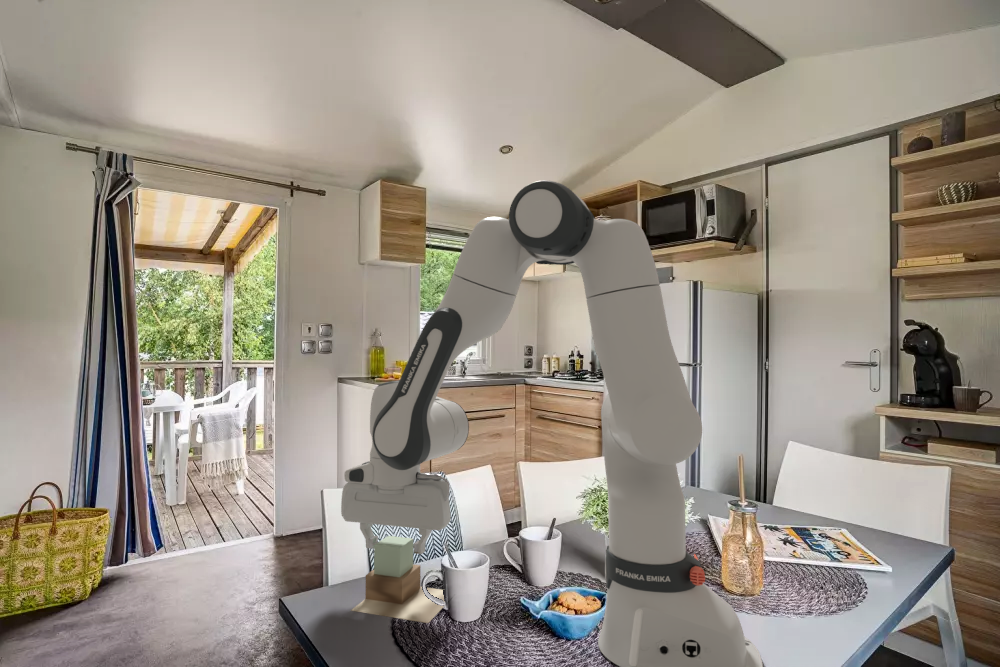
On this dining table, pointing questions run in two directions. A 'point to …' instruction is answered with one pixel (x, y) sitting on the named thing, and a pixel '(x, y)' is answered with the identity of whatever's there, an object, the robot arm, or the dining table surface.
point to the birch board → (405, 607)
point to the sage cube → (393, 556)
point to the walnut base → (392, 586)
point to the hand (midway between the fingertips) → (395, 550)
